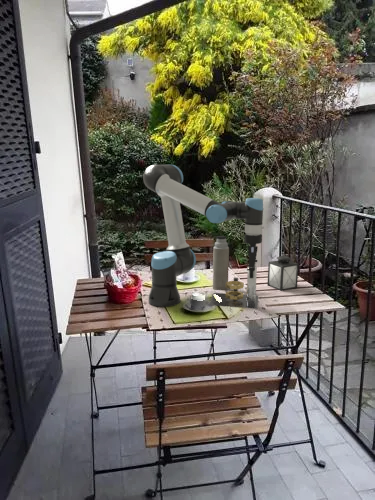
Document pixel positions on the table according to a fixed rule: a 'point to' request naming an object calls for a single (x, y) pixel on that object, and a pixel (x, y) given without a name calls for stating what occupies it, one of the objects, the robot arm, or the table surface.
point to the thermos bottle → (220, 263)
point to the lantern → (282, 273)
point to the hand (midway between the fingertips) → (251, 280)
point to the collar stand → (233, 296)
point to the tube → (251, 292)
